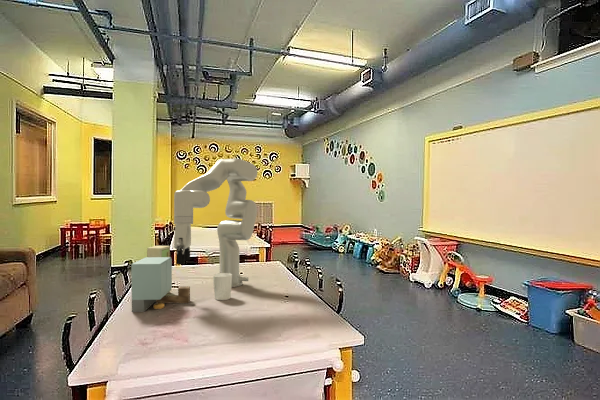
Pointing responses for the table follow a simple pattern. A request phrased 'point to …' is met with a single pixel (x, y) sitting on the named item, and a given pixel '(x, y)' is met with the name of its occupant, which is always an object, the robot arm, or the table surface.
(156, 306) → the orange round disc
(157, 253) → the toy refrigerator
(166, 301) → the brown boxy piece
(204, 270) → the table surface
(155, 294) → the cabinet
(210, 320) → the table surface
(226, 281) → the white cup
